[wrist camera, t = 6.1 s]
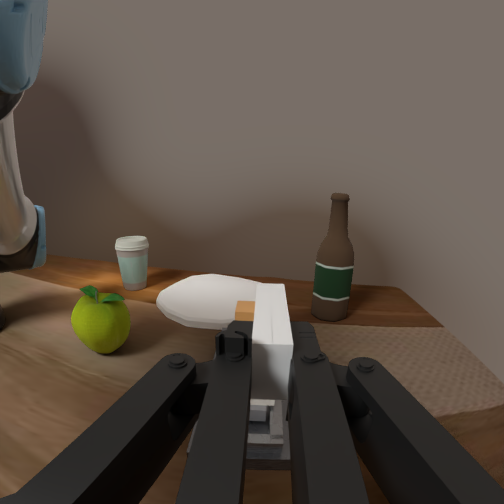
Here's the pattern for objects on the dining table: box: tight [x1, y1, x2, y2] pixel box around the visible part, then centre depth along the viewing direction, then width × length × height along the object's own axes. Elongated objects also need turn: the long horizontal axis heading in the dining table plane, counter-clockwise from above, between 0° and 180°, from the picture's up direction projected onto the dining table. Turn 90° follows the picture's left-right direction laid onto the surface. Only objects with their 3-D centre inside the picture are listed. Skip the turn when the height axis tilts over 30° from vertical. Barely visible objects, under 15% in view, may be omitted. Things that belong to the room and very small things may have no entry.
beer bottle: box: [311, 193, 354, 322], centre depth 55 cm, size 8×8×24 cm
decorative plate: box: [156, 274, 260, 330], centre depth 62 cm, size 25×4×25 cm
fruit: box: [71, 285, 131, 353], centre depth 40 cm, size 9×9×10 cm
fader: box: [235, 301, 275, 421], centre depth 27 cm, size 4×4×12 cm
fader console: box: [187, 328, 291, 470], centre depth 34 cm, size 26×12×4 cm, turn 177°
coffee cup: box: [115, 236, 149, 291], centre depth 67 cm, size 8×8×12 cm
